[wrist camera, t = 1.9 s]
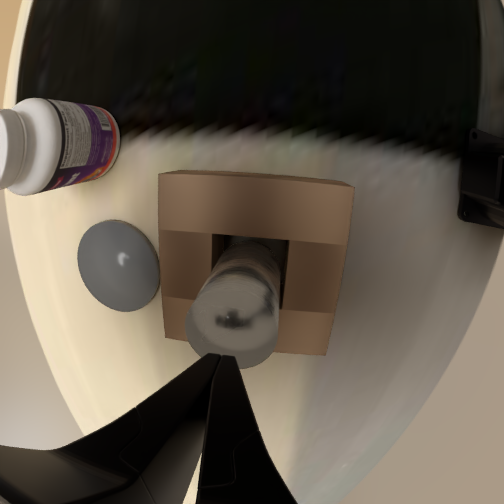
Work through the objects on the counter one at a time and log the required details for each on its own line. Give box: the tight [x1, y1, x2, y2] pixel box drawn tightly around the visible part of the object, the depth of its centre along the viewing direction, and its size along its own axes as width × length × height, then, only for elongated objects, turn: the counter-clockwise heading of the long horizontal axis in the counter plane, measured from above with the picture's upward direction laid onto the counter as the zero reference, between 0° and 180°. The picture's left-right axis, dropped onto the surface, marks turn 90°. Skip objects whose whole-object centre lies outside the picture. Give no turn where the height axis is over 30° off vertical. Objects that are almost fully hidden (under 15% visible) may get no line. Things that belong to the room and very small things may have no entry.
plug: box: [185, 241, 280, 369], centre depth 13 cm, size 3×3×6 cm
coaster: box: [77, 220, 160, 312], centre depth 20 cm, size 7×7×1 cm
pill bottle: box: [0, 98, 120, 196], centre depth 13 cm, size 5×5×10 cm
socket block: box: [158, 170, 355, 355], centre depth 18 cm, size 10×10×4 cm
